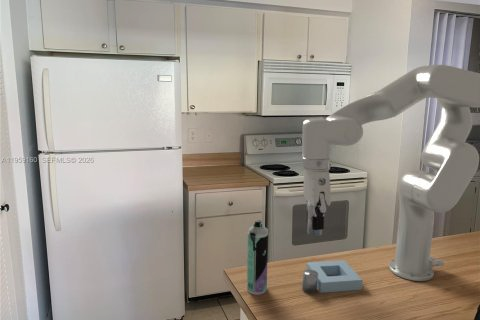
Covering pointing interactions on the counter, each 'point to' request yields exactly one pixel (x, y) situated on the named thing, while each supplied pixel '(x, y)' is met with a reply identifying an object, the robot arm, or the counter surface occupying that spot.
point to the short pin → (310, 281)
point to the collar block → (335, 283)
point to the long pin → (310, 214)
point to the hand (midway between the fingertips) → (314, 225)
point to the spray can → (257, 259)
